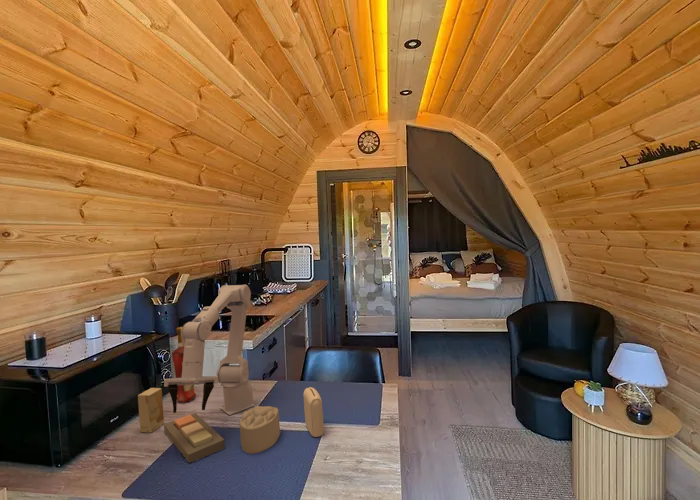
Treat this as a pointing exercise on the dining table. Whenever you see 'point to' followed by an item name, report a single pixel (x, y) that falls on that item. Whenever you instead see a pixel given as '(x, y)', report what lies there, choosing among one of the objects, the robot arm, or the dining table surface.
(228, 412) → the robot arm
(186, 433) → the cream key
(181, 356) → the liquor
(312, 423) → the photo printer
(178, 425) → the terracotta key
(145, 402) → the skincare box
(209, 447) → the keypad base
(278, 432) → the lumpy-topped squat cylinder
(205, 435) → the sage key
